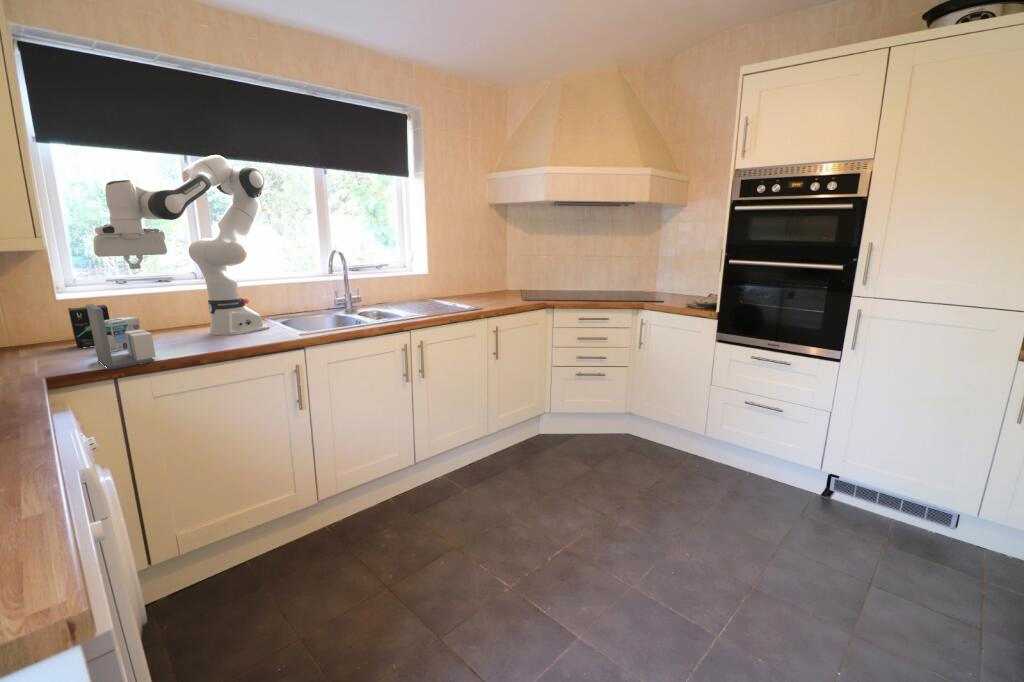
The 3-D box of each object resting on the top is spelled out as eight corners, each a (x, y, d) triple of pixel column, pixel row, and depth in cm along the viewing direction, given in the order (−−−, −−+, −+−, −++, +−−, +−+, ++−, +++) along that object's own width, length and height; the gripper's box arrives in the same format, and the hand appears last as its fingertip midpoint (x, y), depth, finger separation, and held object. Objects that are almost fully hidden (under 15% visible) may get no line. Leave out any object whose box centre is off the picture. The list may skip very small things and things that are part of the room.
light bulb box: (116, 351, 173) (110, 322, 170) (101, 350, 174) (95, 321, 172) (144, 344, 183) (139, 316, 180) (130, 343, 184) (124, 316, 182)
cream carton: (142, 329, 166) (124, 331, 162) (151, 333, 158) (132, 336, 154) (146, 351, 167) (128, 354, 164) (155, 357, 160) (137, 360, 156)
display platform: (142, 354, 168) (132, 300, 164) (154, 361, 158) (143, 304, 154) (98, 361, 159) (86, 304, 155) (107, 369, 149) (95, 309, 145)
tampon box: (112, 340, 190) (105, 304, 187) (115, 344, 184) (108, 306, 180) (75, 345, 183) (67, 307, 179) (77, 349, 176) (68, 310, 173)
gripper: (161, 228, 176) (167, 266, 179) (88, 228, 161) (96, 270, 164) (166, 228, 172) (172, 267, 175) (91, 228, 157) (100, 271, 160)
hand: (135, 268), depth 170 cm, fingers closed
